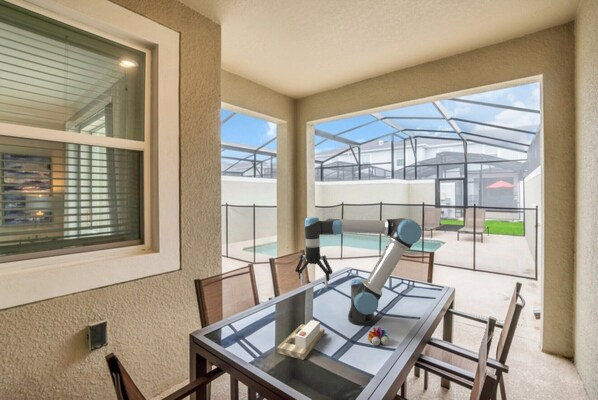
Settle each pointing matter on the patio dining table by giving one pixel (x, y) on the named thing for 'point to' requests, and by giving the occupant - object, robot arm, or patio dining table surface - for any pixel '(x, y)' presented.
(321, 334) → the square hole board
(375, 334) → the rainbow stacked discs
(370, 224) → the robot arm
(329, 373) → the patio dining table surface
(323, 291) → the patio dining table surface
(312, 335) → the power strip
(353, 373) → the patio dining table surface
